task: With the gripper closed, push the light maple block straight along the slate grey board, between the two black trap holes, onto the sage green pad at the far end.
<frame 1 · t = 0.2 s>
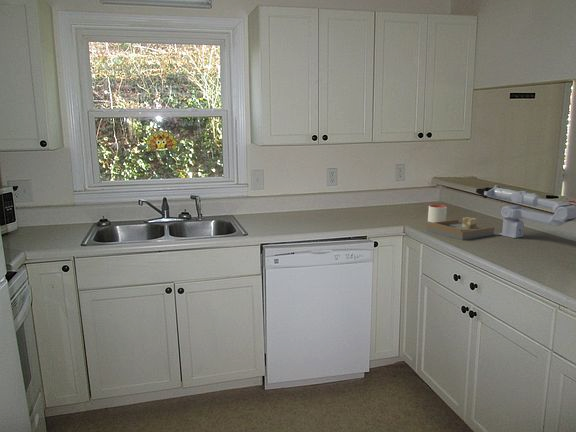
hand: (481, 190, 262), 21 cm above the worktop, tool horizontal, fingers open, 7 cm apart
trap board: (459, 232, 255), on the worktop
block: (469, 227, 258), point 2 cm above the worktop, touching trap board
cup: (436, 223, 279), on the worktop
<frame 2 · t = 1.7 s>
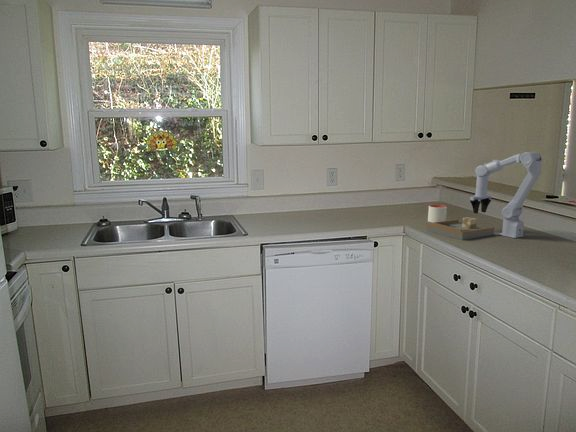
hand: (479, 212, 261), 9 cm above the worktop, tool pointing down, fingers open, 6 cm apart
nothing on the worktop moved.
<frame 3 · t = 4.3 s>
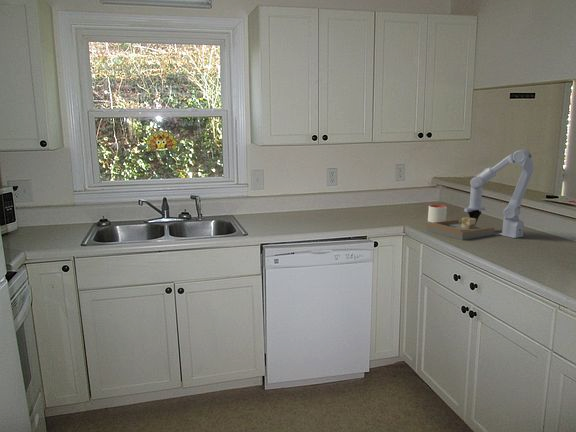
hand: (473, 224, 260), 3 cm above the worktop, tool pointing down, fingers closed
block: (468, 227, 258), point 2 cm above the worktop, touching gripper
everything else where it was.
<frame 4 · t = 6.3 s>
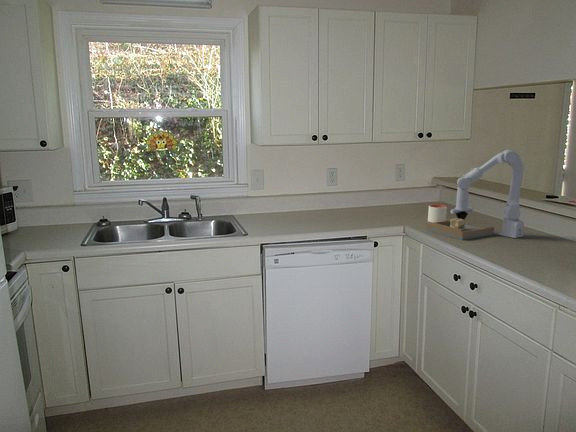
hand: (460, 225, 255), 4 cm above the worktop, tool pointing down, fingers closed, pressing on block
block: (457, 228, 254), point 2 cm above the worktop, tilted 6°, touching gripper, trap board
everything else where it was.
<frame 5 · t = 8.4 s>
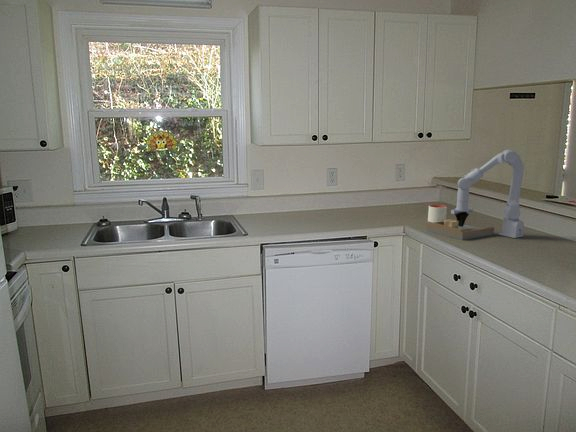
hand: (460, 226, 255), 3 cm above the worktop, tool pointing down, fingers closed
block: (450, 230, 251), point 2 cm above the worktop, touching trap board
everything else where it was.
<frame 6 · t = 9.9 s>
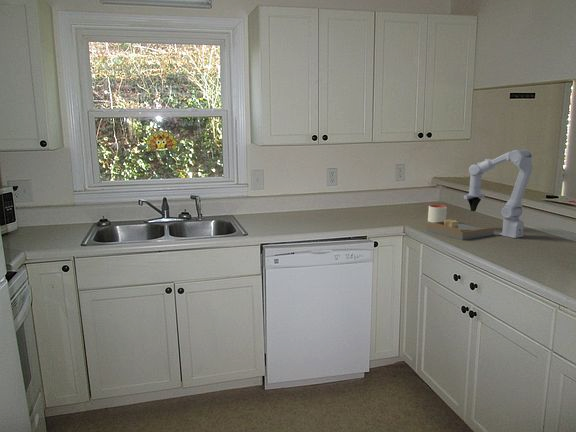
hand: (473, 211, 265), 9 cm above the worktop, tool pointing down, fingers closed
nothing on the worktop moved.
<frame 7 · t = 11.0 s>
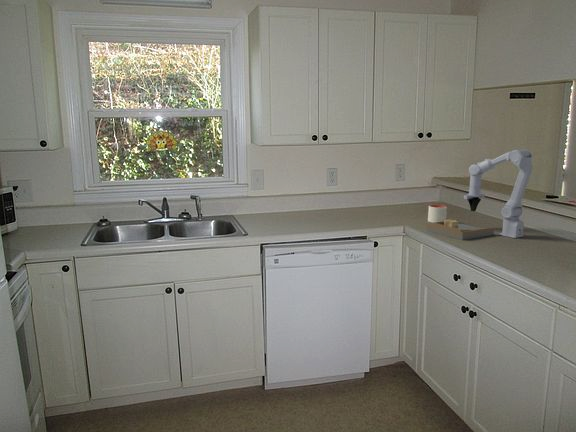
hand: (473, 211, 265), 9 cm above the worktop, tool pointing down, fingers closed
nothing on the worktop moved.
at the end: block inside the target area on the trap board (0.6 cm from its centre), point 2.0 cm above the trap board's base; block tilted 0° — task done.
